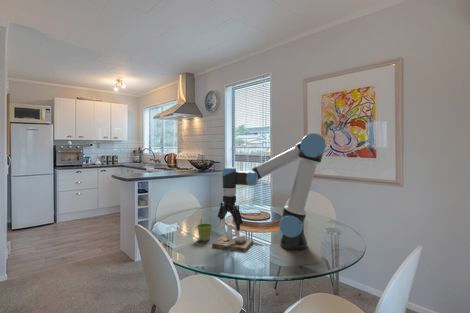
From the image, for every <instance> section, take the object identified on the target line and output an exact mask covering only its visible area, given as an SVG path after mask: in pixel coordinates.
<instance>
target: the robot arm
mask: <svg viewBox="0 0 470 313" xmlns="http://www.w3.org/2000/svg"><path fill="white" fill-rule="evenodd" d="M326 145H327V144H326V140H325V139H324V137H323V136H322V135H321V134H319V133H314V132H312V133H307V134H306V135H304V136H303V138H302V139H301V140H300V141H299V142H298V143H296V144H295V146H293V147H292V148H290V149H288V150H286V151H284V152H282V153H280V154H278V155H276V156H274V157H272V158H270V159H268V160H267V161H264V162H263V163H261V164H259V165H256V166H255V167H252V168H251V169H249V170H247V171H241V170H240V171H238V170H237V168H236V167H231V166H229V167H223V168H222V174H221V175H222V176H221V177H222V201H221V202H220V207H219V210H218V213H217V218H219V222H220V223H219V224H220V231H221V232H222V231H225V230H226V215H227V213H230V214H231V217H232V219H233V221H234V223H235V224H234V237H236V236H240V234H241V233H240V230H241V224H243V221H244V220H243V219H242V215H241V212H240V205H236V203H237V196H236V195H237V186H257V184H258V182H259V181H260V180H261V179H262V178H265V177H268V176H269V175H271V174H273V173H275V172H277V171H279V170H281V169H284V168H286V167H287V166H289V165H291V164H293V163H296V162H297V161H299V162H298V166H297V170H296V174H295V177H294V180H293V185H292V188H291V192H290V195H289V199H288V203H287V204H286V205H283V208H282V214H281V218H280V220H279V222H278V227H279V230H280V232H281V233H282V234H281V237H280V240H279V246H280V247H281V248H283V249H285V250H289V251H302V250H305V249H307V247H308V242H307V239H306V238H307V237H306V235H305V220H306V216H307V212H306V210H305V208H306V205H307V202H308V201H307V200H308V198H309V193H310V190H311V186H312V183H313V180H314V175H315V172H316V168H317V166H318V165H319V164H321V162H322V159H323V155H324V152H325V149H326Z"/></svg>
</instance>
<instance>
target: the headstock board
mask: <svg viewBox="0 0 470 313" xmlns="http://www.w3.org/2000/svg"><path fill="white" fill-rule="evenodd" d="M226 240H228V239H227V235H226V236H225V235H222V236H220V237H219V238H217V239H216V240H215V241H214V242H212V243H211V247H212V248H215V249H224V250H232V251H238V252H246V251H247V250H248V249H249V248H250V247H251V246H252V245H253V244H254V239H252V238H251V239H249V238H245V242H243V243H239V242H236V241H234V242H224V241H226Z"/></svg>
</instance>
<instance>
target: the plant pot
mask: <svg viewBox="0 0 470 313" xmlns="http://www.w3.org/2000/svg"><path fill="white" fill-rule="evenodd" d="M212 227H213V225H212V224H211V223H199V224H197V225H196V228H197V230H198V235H199V241H203V242H207V241H209V240H210V238H211V232H212V231H211V230H212Z"/></svg>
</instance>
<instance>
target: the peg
mask: <svg viewBox="0 0 470 313" xmlns="http://www.w3.org/2000/svg"><path fill="white" fill-rule="evenodd" d="M226 231H227V232H226V236H227V239H228V240H226V241H224V242H234V241H236V242H239V243H243V242H245V239H246V234H245V233H240V236H236V237H235V236H233V224H232V223H227V224H226Z"/></svg>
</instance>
